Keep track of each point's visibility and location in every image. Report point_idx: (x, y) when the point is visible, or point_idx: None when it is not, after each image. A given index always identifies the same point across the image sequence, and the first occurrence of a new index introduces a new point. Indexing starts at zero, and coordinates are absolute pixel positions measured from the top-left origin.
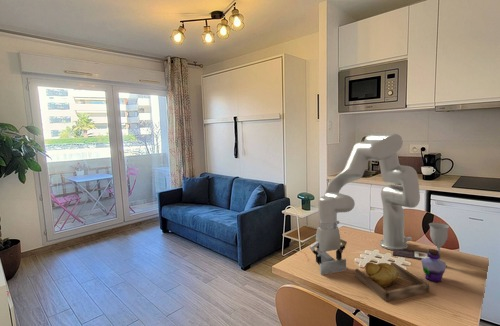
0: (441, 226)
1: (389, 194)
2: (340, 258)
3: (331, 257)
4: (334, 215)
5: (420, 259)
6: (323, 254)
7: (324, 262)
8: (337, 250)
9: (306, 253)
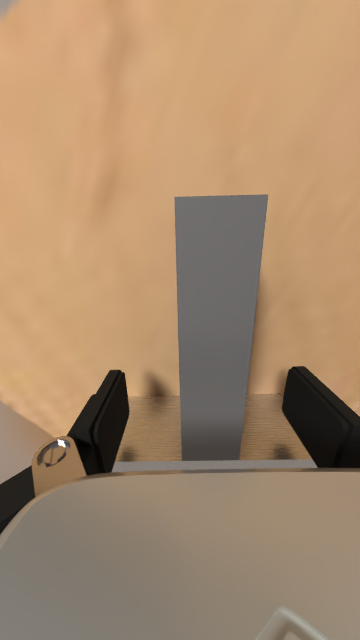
0: None
1: None
2: (301, 434)
3: (236, 419)
4: None
5: None
6: (198, 346)
7: (136, 466)
8: (356, 457)
9: (132, 15)
